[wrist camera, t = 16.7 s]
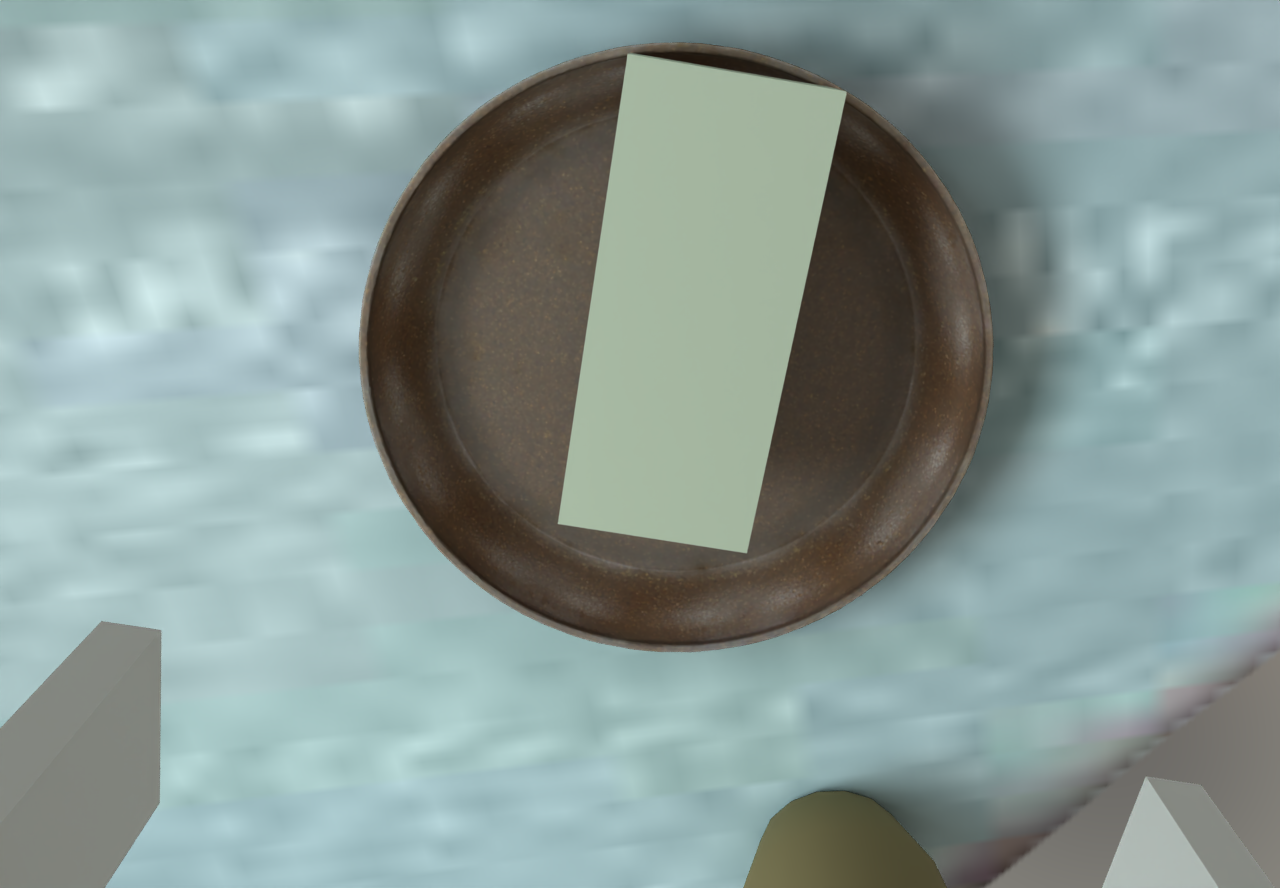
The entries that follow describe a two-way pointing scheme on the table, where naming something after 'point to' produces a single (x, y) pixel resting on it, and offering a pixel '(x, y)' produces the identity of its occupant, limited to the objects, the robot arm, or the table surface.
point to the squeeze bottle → (839, 847)
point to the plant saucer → (553, 350)
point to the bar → (695, 298)
